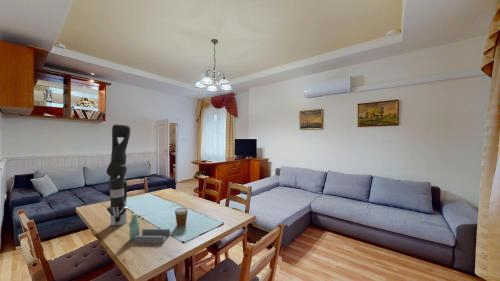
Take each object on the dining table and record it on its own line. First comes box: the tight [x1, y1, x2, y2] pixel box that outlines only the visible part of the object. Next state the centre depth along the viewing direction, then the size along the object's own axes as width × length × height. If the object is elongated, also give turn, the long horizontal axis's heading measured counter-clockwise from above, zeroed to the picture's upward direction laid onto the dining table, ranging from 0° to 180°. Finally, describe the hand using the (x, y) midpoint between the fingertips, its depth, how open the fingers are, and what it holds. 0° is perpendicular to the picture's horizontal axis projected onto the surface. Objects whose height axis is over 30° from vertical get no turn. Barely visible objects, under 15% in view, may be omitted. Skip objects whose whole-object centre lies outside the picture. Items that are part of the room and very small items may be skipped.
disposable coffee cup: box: [174, 207, 189, 228], centre depth 147 cm, size 10×10×12 cm
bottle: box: [129, 212, 140, 242], centre depth 128 cm, size 5×5×16 cm
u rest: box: [133, 228, 171, 244], centre depth 129 cm, size 18×10×4 cm, turn 90°
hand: (117, 221), depth 128 cm, fingers closed
